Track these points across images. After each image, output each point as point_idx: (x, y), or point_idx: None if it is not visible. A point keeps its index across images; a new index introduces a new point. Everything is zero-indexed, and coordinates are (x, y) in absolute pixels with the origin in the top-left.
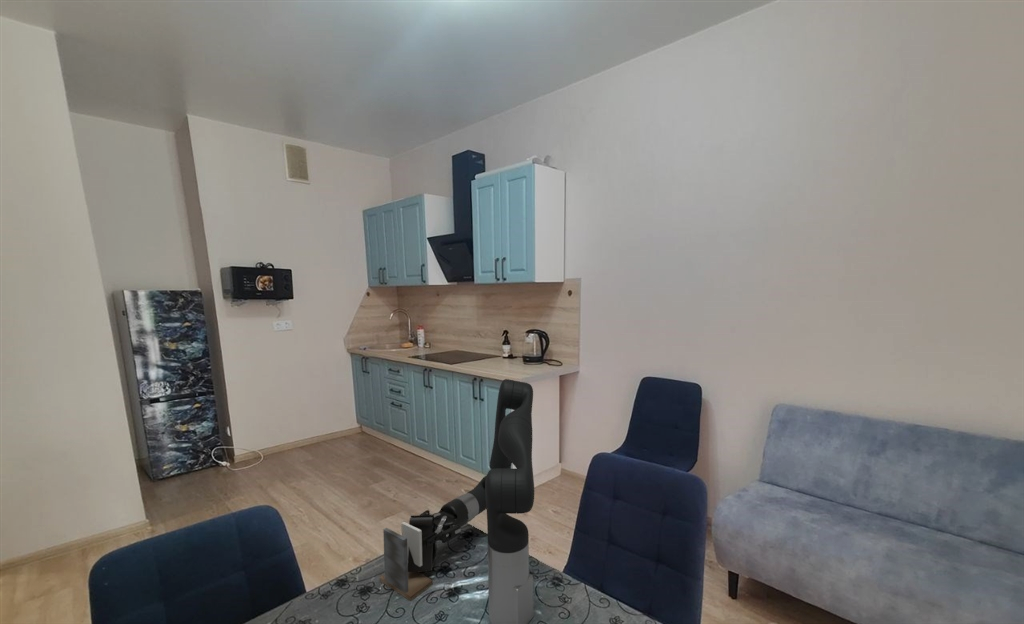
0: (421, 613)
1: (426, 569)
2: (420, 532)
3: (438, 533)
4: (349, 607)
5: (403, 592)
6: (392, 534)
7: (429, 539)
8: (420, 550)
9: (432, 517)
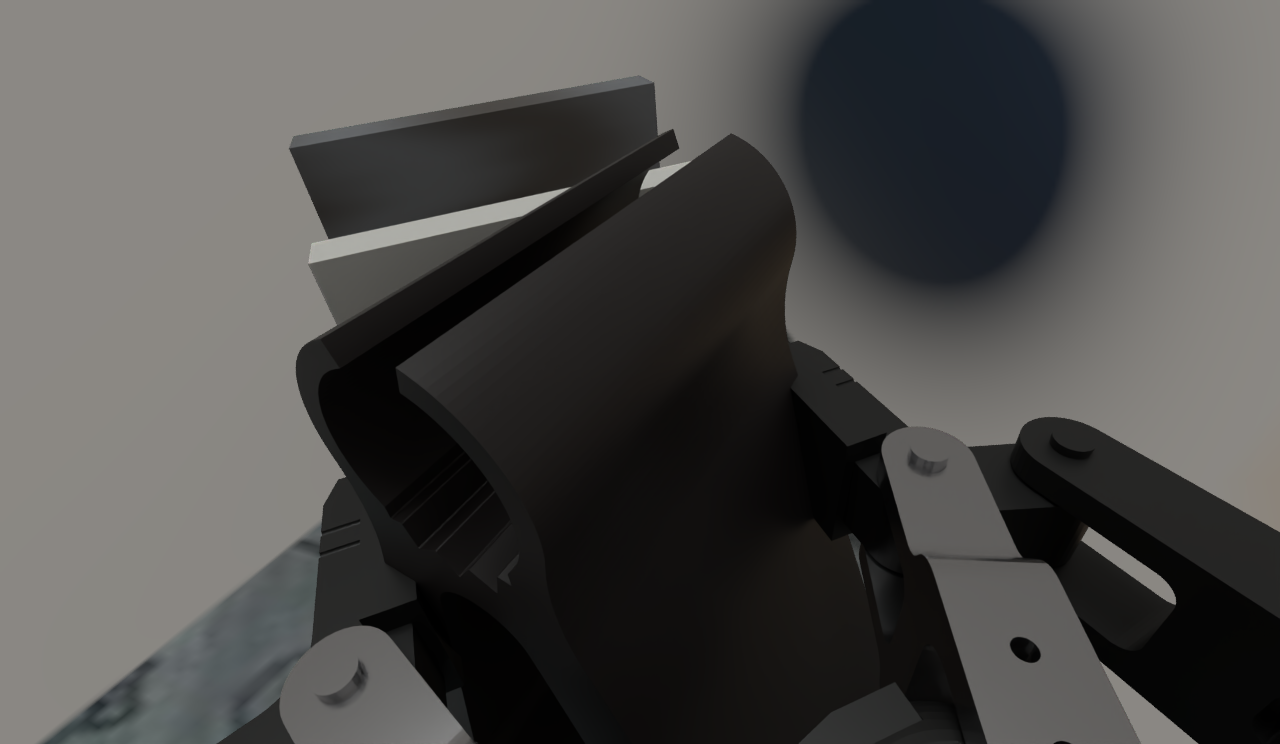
0: (256, 587)
1: None
2: (322, 278)
3: (294, 689)
4: None
5: None
6: (493, 103)
7: (339, 511)
8: None
9: (313, 341)
